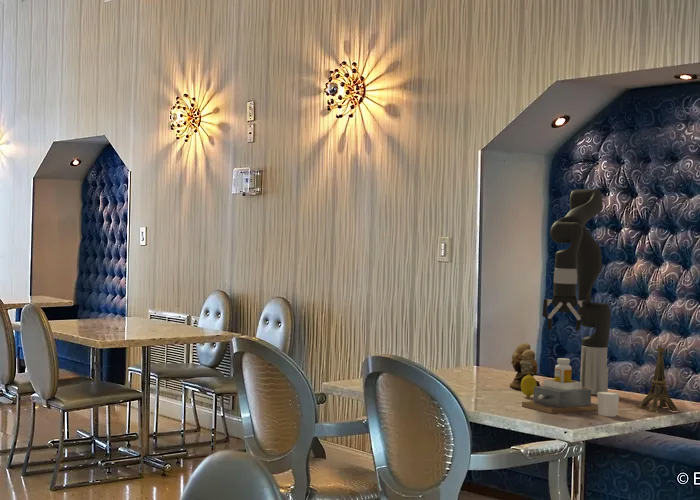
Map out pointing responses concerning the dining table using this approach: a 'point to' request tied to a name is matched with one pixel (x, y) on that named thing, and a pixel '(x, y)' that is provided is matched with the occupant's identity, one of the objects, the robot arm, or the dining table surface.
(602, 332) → the robot arm
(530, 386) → the lemon
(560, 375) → the supplement bottle
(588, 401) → the grey and brown box
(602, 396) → the white cup
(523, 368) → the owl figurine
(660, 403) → the eiffel tower
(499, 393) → the dining table surface
